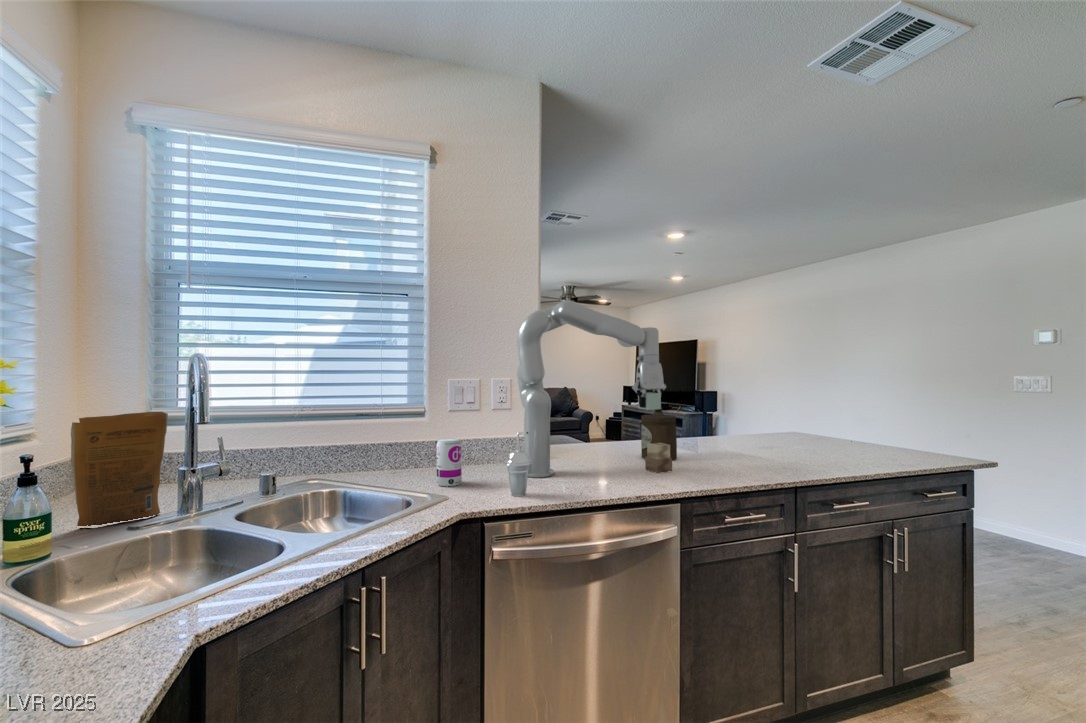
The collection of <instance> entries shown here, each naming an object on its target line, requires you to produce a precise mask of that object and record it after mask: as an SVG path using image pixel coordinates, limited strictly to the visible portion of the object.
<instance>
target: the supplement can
mask: <svg viewBox="0 0 1086 723" xmlns="http://www.w3.org/2000/svg"><path fill="white" fill-rule="evenodd" d="M462 474H463V473H462V442H461V440H460V438H458V437H456V438H455V437H447V438H439V439H438V440H437V443H436V484H437V485H438V486H440V487H443V486H444V488H445V486H446V488H449V487H448V486H451V487H455V486H456V485H457V486H459V485H460V484H461V483H462V478H463V477H462ZM457 486H456V487H457Z"/></svg>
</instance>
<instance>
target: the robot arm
mask: <svg viewBox="0 0 1086 723" xmlns="http://www.w3.org/2000/svg"><path fill="white" fill-rule="evenodd" d="M564 325H565V326H566V325H570V326H572V327H574V328H577V329H580V330H581V331H585V332H587V333H589V334H592V335H596V336H606V337H609V338H613V339H616V341H617V343H618V344H619V345H620V346H622V347H623V348H631V347H638V356H637V357H636V360H637V361H638V363H637V366H636V375H635V376H636V377H635V382H634V384H633V385H632V386H631V389H632V390H633V391H634V393H635V394H636V395H637V398H638V397H639V407H643V408H645V407H646V397H644V396H645V393H647V390H652V393H661V395H662V394H663V393H664V391H665V390H666V389H667V384H665V383H664V373H663V367H662V363H661V362H660V353H659V352H660V349H659V346H660V345H659V342H660V340H659V336H660V335H659V330H658V328H657V327H650V326H649V327H640V326H639V325H637V324H636V323H635V324H634V323H633V322H630V321H627V320H626V319H622V318H620V317H616V316H612V315H610V314H606V313H602V312H599V311H597V310H595V309H592V308H590V307H588V306H586V305H583V304H580V303H578V302H576V301H573V300H568V299H565V300H562V301H560V302H559V303H557V304H555V305H553V306H550V307H549V308H548V307H547V308H545V309H542V310H540V309H539V310H535V311H533V312H532V313H530V314H529V315H528V316H526V318H525V319H524V320H523V322H522V324H521V325H520V327H519V330H518V332H517V338H516V345H517V353H518V356H517V357H518V361H519V365H518V367H517V369H516V376H517V384H518V390H519V397H520V401H521V404H522V406H523V408H524V417H523V418H524V419H523V432H528V434H523V436H524V437H523V438H524V440H523V441H524V442H523V447H524V448H523V449H524V450H523V451H525V452H526V453H527V454H528V456H529V459H530V460H532V464H530V466H529V472H528V478H548V477H552V476H554V475H555V470H554V469H553V468H551V413H552V412H551V411H552V410H551V409H552V401H551V400H552V399H551V397H550V395H549V393H548V392H547V391H546V389H544V382H543V380H544V377H545V371H546V369H545V367H544V360H543V354H542V348H541V347H542V345H541V340H542V337H543V335H544V333H547V332H550V331H553V330H556V329H558V328H560V327H562V326H564Z"/></svg>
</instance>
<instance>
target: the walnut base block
mask: <svg viewBox="0 0 1086 723" xmlns="http://www.w3.org/2000/svg"><path fill="white" fill-rule="evenodd" d="M644 466H645V469H646V471H648V470H650V471H649V472H651V471H653V472H652V473H654V472H656V473H655V474H661V473H660V472H664V473H669V472H668V471H672V472H673V460H672V458H667V459H658V460H657V459H653V458H650V457H645V459H644Z"/></svg>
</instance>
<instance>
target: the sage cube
mask: <svg viewBox="0 0 1086 723" xmlns="http://www.w3.org/2000/svg"><path fill="white" fill-rule="evenodd" d="M644 397H646V407H645V408H643V407H639V397H638V396H637V398H638V400H637V401H638V403H637V404H638V409H640V410H647V411H650V410H655V409H661V408H662V402H661V401H662V399H661V398H662V394H661V393H654V392H645V396H644Z"/></svg>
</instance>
